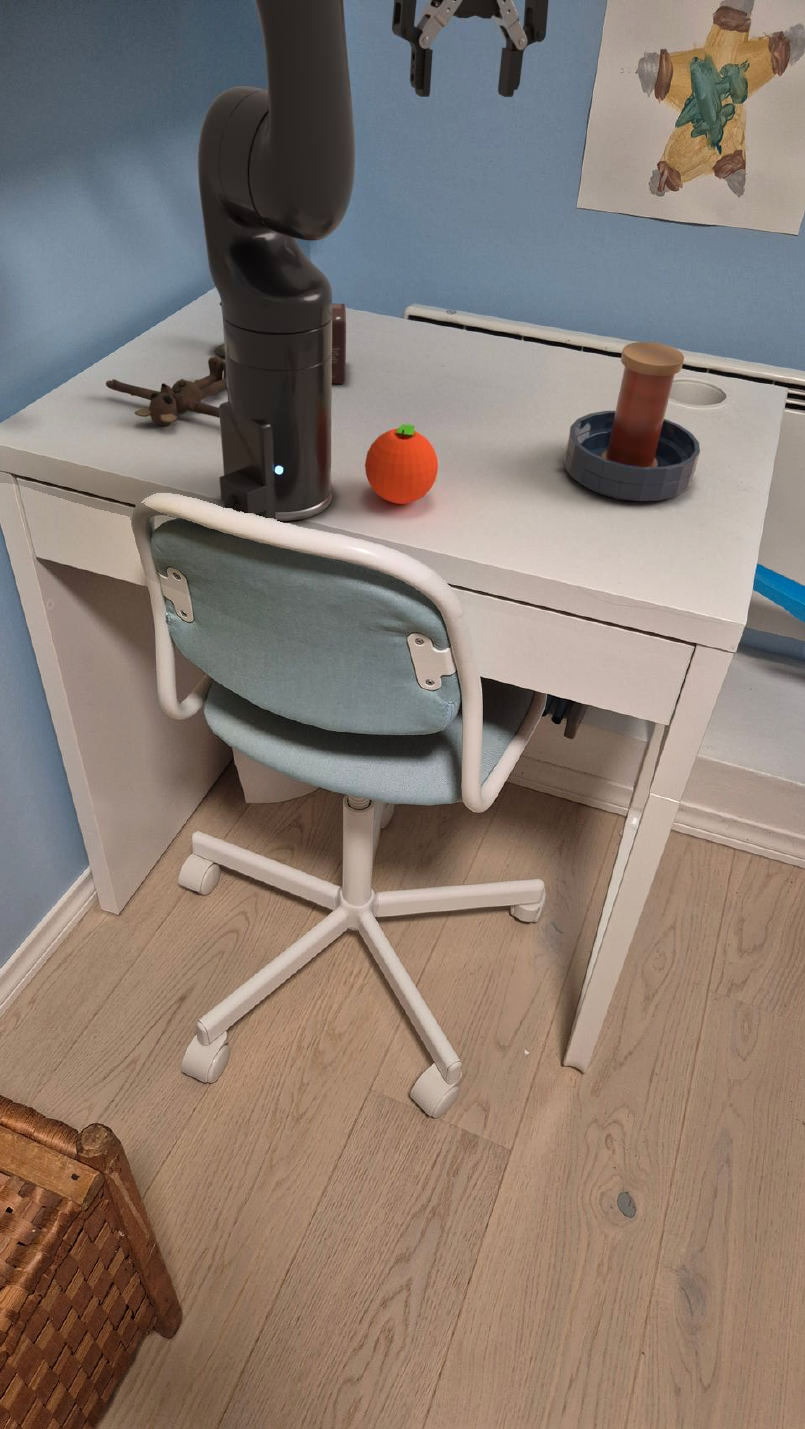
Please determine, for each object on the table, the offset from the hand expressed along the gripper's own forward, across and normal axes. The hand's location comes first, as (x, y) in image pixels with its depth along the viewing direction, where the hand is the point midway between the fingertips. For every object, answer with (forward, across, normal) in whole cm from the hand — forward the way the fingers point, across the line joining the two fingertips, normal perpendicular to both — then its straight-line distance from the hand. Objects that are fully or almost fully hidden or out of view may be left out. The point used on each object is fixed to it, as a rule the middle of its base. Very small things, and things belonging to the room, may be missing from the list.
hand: (464, 95), depth 92 cm
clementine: (+30, -12, -20) cm, 38 cm away
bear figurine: (+30, -28, +5) cm, 41 cm away
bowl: (+30, +13, -21) cm, 39 cm away
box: (+30, -11, +10) cm, 34 cm away
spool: (+30, +13, -21) cm, 38 cm away
